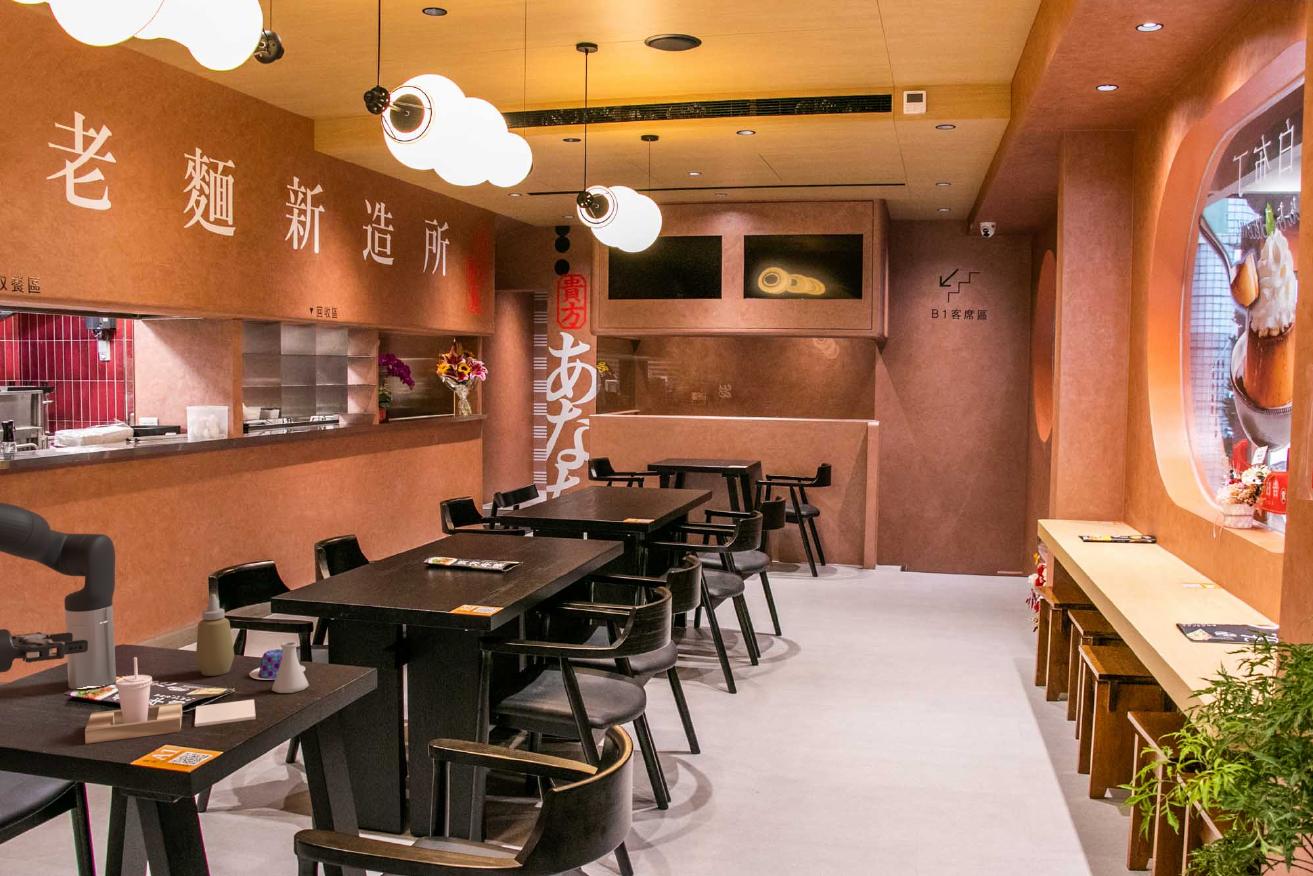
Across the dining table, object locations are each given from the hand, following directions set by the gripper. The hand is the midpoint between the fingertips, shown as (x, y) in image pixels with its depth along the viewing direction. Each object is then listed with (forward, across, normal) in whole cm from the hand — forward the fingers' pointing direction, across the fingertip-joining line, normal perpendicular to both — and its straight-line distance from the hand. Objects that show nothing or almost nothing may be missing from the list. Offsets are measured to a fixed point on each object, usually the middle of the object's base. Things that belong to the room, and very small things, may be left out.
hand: (79, 641), depth 192 cm
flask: (+43, +2, +16) cm, 46 cm away
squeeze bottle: (+36, +25, +16) cm, 47 cm away
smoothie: (+10, +1, +18) cm, 21 cm away
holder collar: (+10, +1, +18) cm, 21 cm away
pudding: (+46, +15, +16) cm, 51 cm away
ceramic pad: (+26, -4, +17) cm, 31 cm away
